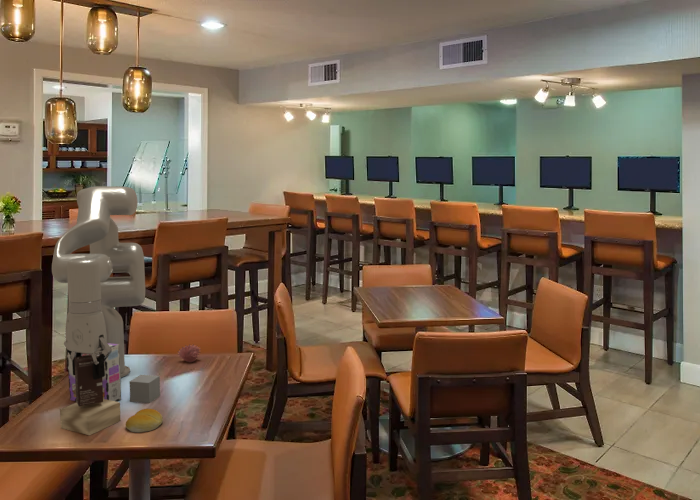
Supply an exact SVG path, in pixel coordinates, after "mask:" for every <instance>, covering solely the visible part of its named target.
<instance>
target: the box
mask: <svg viewBox="0 0 700 500" xmlns="http://www.w3.org/2000/svg"><path fill="white" fill-rule="evenodd" d="M99 356H100V355H99V354H97V357H99ZM74 362H75V384H76V401H75V403H77V404H78V406H84V405H89V404H95V403H101V402H103V381H102V378H99V379H96V380H95V379H93V366H92V365H93V364H95V363H94V361H93V358H92V355H85V356H80V357H74Z"/></svg>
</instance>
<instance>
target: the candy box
mask: <svg viewBox="0 0 700 500" xmlns="http://www.w3.org/2000/svg"><path fill="white" fill-rule="evenodd" d="M108 345H109V346H110V347H111V349H112V352H111V353H110V354H109V356H108V358H107V359H106V361H105V362H104V367H105V376H104V377H102V381H103V399H107V400H111V401H116V402H119V401H120V400H122V387H121V382H122V381H121V378H120V360H119V344H111V343H108ZM97 351H98V350H97ZM97 354H99V353H97ZM66 355H67V356H66V357H67V358H66V359H67V370H68V383H69V384H68V386H69V400H70V401H74V402H76V384H75V375H73V367H72V360H71V359H70V354H69V353H68V349H67V348H66ZM85 355H91V354H83V355H82V356H85Z"/></svg>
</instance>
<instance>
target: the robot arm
mask: <svg viewBox="0 0 700 500" xmlns="http://www.w3.org/2000/svg"><path fill="white" fill-rule="evenodd" d="M76 202H77V203H76V204H77V207H78V209H77V210H78V211H77V218H76V224H75V225H74V226H72V227H71V228H69V229H68V230H67V231H66V232H64V233H63V234H62V235H61V236H60V237H59V239H58V240H57V241H56V243H55V246H54V249H53V250H54V251H53V257H52V263H51V274H52V276H53V279H54V280H55V281H56V282H57V283H60V284H67V292H68V293H67V294H68V310H69V311H68V312H67V315H66V319H65V336H64V337H65V341H64V342H63V345H64V347H65V348H66V350H67V349H68V353H69V354H70V359H71V360H72V367H73V375H75V362H74V357H80V356H82V355H83V354H91V355H92V358H93V361H94V363H95V364H93V365H92V366H93V379H95V380H96V379H99V378H102V377H104V376H105V367H104V362H105V361H106V359H107V358H108V356H109V354H110V353H111V352H112V349H111V347H110V346H109V345H108V343H111V344H119V360H120V379H121V378H123V377H125V376H128V375H129V374H130V373H131V368H130V367H129V366H127V365H126V361H125V341H124V340H125V339H124V338H125V337H124V334H125V333H124V321H123V317H122V315H121V313H119V312H118V311H117V310H116V309H115V308H120V307H122V308H123V307H137V306H140V305H142V304H143V303H144V302H145V298H146V276H145V275H146V273H145V256H144V252H143V250H144V249H143V248H142V246H141V245H140V244H138V243H136V242H120V240H119V227H118V225H117V223H116V221H114V220H113V219H112V217H111V216H132V215H134V214H135V213H136V211H137V209H138V196H137V193H136V190H134V189H133V188H132V187H128V186H120V185H119V186H117V185H116V186H114V185H113V186H111V185H109V186H107V185H106V186H104V185H103V186H102V185H101V186H100V185H98V186H96V185H95V186H90V187H86V188H83V189H80V190H79V191H77V194H76ZM87 246H89V253H73V252H75V251H77V250H78V249H81V248H83V247H87ZM112 273H113V274H114V273H115V274H116V273H126V274H129V276H111V275H112ZM97 350H98V351H97ZM97 353H99V355H100V356H99V357H97Z"/></svg>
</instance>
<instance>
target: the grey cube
mask: <svg viewBox="0 0 700 500" xmlns="http://www.w3.org/2000/svg"><path fill="white" fill-rule="evenodd" d="M160 376H161V375H152V374H151V375H150V374H149V375H148V374H139V375H138V376H136V377H135V378H133V379H131V380H129V383H128V384H129V399H130V400H129V402H131V403H142V404H143V403H144V404H150V403H152V402H153V401H155V400H156V399H157V398H159V397H160V396H161V382H160V381H161V380H160V379H161V377H160Z"/></svg>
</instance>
